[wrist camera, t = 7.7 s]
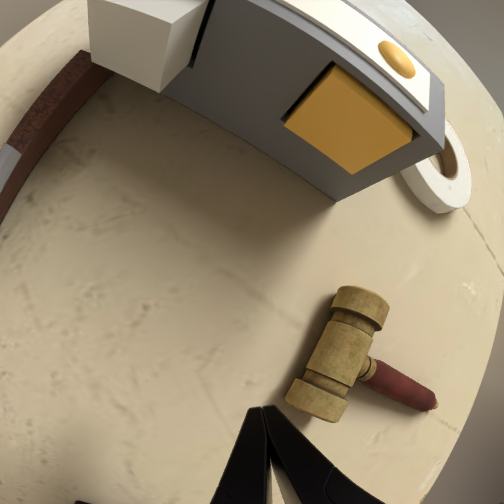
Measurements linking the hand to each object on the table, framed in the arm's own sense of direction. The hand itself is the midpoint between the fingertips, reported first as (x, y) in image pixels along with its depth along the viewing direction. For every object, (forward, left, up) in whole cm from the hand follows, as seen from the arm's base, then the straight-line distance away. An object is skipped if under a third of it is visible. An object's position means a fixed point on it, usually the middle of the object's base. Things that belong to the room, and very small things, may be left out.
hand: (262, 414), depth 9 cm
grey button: (-10, +17, -7) cm, 21 cm away
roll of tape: (+23, +26, -13) cm, 37 cm away
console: (-1, +21, -12) cm, 24 cm away
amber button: (+5, +17, -7) cm, 19 cm away
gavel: (+18, -1, -13) cm, 22 cm away
